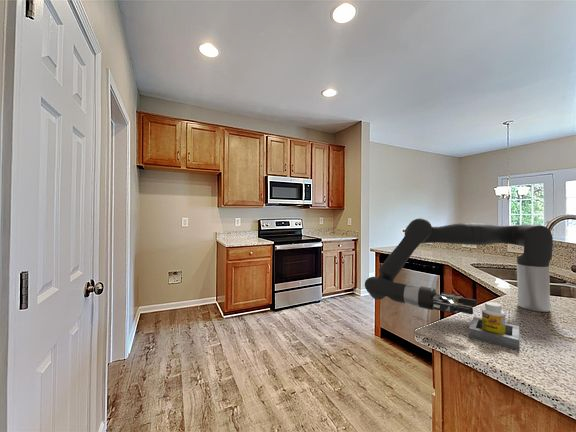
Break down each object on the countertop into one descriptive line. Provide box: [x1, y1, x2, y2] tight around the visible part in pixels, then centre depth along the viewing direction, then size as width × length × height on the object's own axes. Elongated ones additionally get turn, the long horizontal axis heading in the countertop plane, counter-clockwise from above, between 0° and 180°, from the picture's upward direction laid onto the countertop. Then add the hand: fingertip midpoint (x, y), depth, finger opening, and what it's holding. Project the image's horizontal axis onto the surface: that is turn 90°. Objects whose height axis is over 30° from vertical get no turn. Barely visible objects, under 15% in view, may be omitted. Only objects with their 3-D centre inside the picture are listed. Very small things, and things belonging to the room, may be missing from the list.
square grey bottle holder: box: [468, 316, 521, 352], centre depth 78 cm, size 11×11×3 cm
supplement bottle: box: [481, 301, 506, 335], centre depth 78 cm, size 6×6×10 cm
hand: (474, 307), depth 81 cm, fingers open, 8 cm apart
